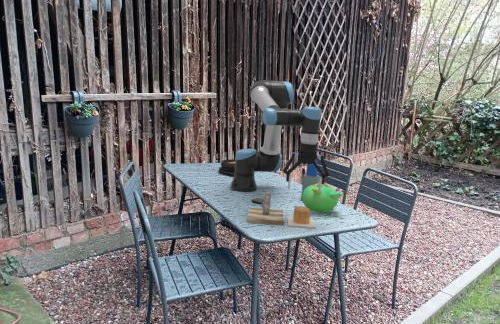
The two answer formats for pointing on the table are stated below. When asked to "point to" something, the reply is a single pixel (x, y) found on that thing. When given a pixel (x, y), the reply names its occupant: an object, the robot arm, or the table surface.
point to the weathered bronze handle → (258, 200)
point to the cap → (301, 215)
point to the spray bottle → (310, 177)
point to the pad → (293, 224)
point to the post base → (265, 218)
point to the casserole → (228, 167)
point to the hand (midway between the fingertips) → (304, 190)
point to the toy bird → (320, 198)
